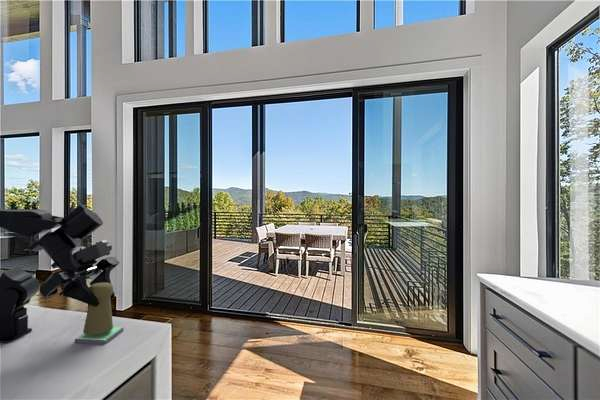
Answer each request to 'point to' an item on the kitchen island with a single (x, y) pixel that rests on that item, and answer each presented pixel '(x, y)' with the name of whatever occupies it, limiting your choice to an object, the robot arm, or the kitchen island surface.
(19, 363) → the kitchen island surface
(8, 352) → the kitchen island surface
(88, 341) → the plate
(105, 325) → the cork
